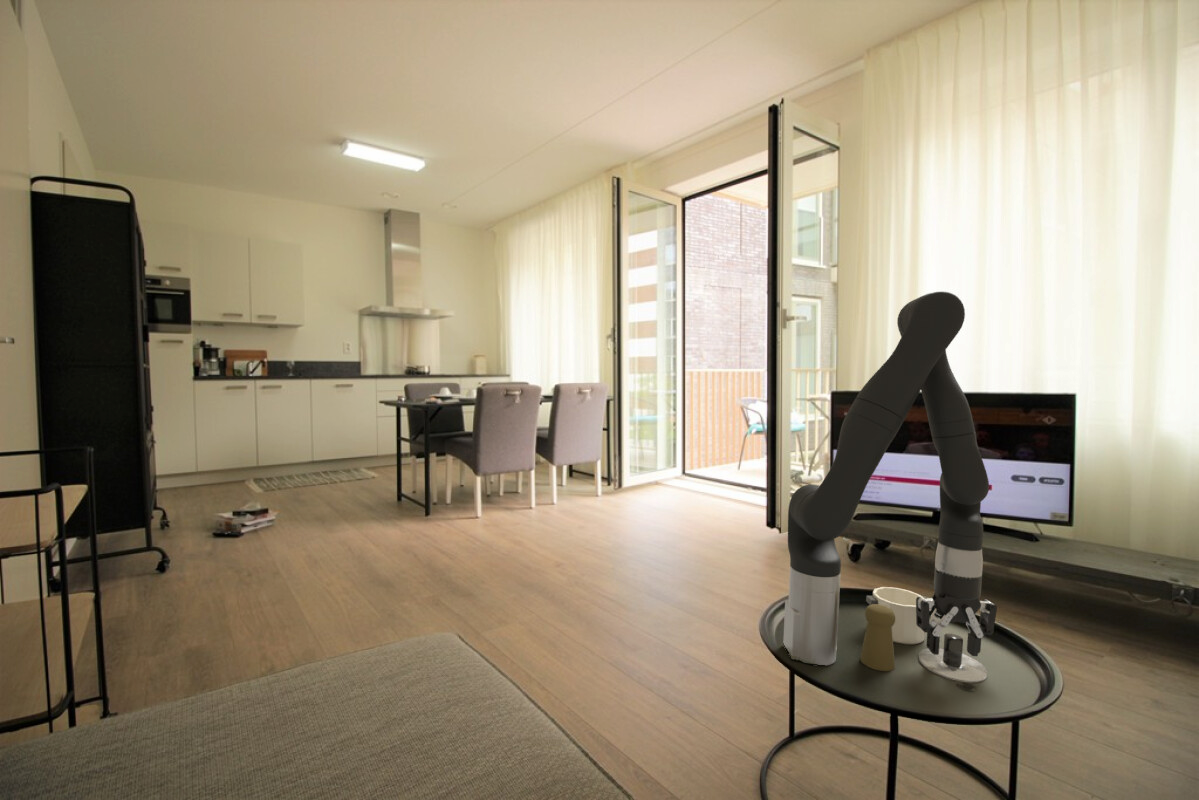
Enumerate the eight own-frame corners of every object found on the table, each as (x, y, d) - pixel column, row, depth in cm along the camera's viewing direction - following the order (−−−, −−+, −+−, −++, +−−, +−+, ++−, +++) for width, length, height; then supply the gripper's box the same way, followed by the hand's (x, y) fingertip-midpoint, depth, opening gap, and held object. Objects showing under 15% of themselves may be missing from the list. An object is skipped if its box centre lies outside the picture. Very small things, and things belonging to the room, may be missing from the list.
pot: (877, 642, 115) (879, 605, 114) (857, 620, 125) (859, 586, 124) (940, 645, 114) (943, 607, 114) (915, 623, 124) (917, 588, 124)
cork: (853, 658, 108) (856, 603, 108) (874, 652, 111) (877, 598, 110) (880, 673, 103) (883, 616, 102) (902, 667, 105) (905, 610, 105)
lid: (938, 682, 101) (940, 650, 101) (907, 651, 112) (909, 622, 112) (1000, 685, 101) (1002, 653, 100) (963, 654, 112) (965, 625, 111)
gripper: (984, 563, 109) (978, 645, 110) (909, 560, 109) (904, 642, 110) (1011, 577, 101) (1004, 665, 102) (930, 574, 102) (924, 662, 103)
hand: (952, 653), depth 106 cm, fingers open, 6 cm apart
